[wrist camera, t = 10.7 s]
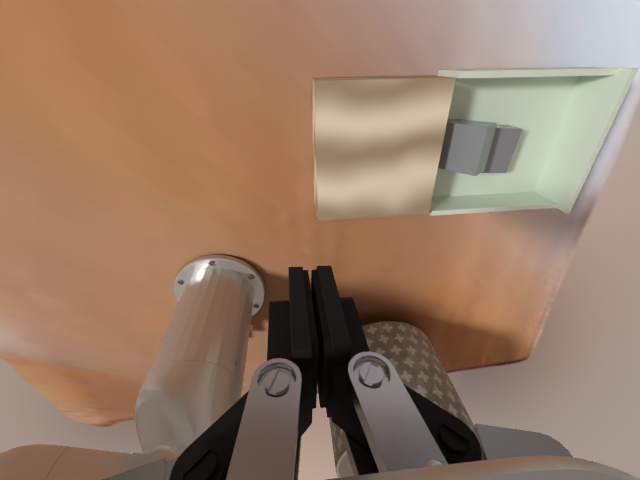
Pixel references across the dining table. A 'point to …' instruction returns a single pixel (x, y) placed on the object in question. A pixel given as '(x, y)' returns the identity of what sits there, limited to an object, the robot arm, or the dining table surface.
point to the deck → (377, 144)
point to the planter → (405, 375)
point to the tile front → (466, 146)
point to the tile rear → (502, 148)
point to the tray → (533, 134)
